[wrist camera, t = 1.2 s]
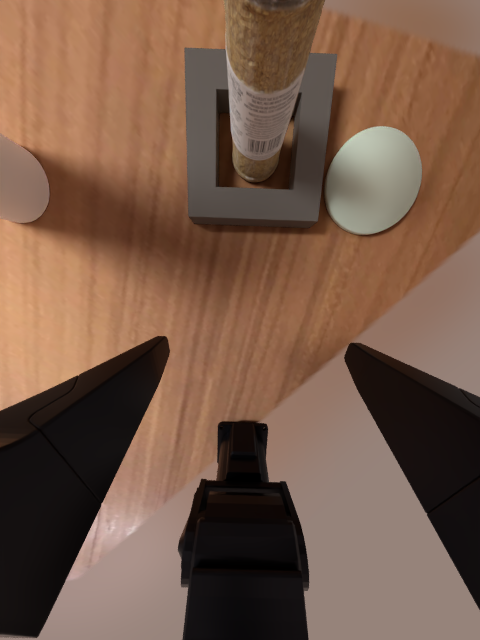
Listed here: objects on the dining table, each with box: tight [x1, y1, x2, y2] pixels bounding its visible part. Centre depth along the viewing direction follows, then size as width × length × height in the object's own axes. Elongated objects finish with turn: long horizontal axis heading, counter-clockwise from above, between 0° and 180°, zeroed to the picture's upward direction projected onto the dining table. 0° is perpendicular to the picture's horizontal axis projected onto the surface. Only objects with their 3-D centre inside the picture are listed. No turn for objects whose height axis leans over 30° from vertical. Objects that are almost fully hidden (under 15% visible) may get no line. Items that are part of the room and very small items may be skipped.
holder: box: [185, 48, 337, 228], centre depth 16 cm, size 12×12×2 cm
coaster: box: [324, 126, 422, 235], centre depth 17 cm, size 9×9×1 cm
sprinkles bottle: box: [224, 0, 325, 182], centre depth 10 cm, size 5×5×13 cm
